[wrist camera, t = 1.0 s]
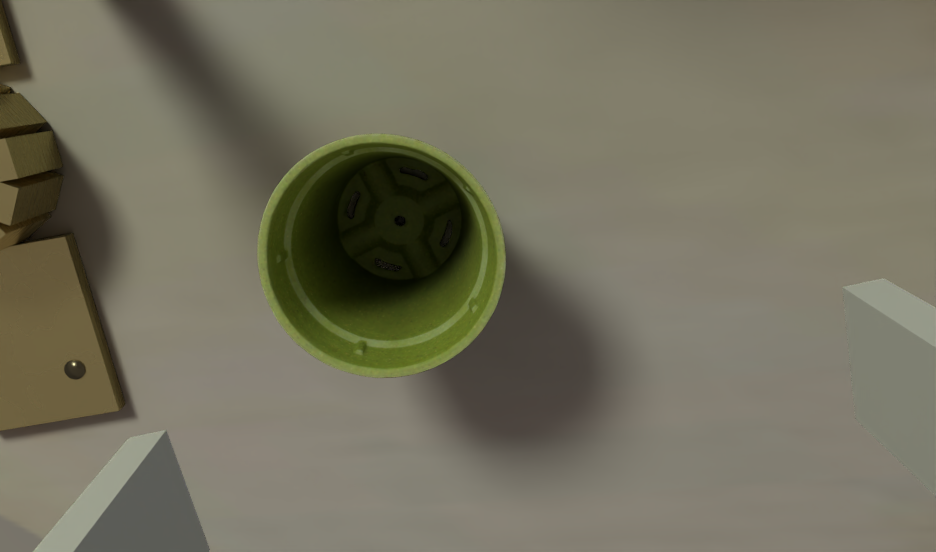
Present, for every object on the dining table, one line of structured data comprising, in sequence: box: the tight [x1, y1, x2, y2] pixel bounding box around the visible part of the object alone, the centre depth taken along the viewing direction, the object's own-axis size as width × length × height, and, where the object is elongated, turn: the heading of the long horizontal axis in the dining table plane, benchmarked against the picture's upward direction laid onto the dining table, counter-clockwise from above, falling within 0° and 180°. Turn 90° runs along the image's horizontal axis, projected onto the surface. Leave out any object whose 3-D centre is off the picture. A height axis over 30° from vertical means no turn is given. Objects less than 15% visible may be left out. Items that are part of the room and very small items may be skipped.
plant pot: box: [257, 134, 506, 378], centre depth 34 cm, size 9×9×9 cm
